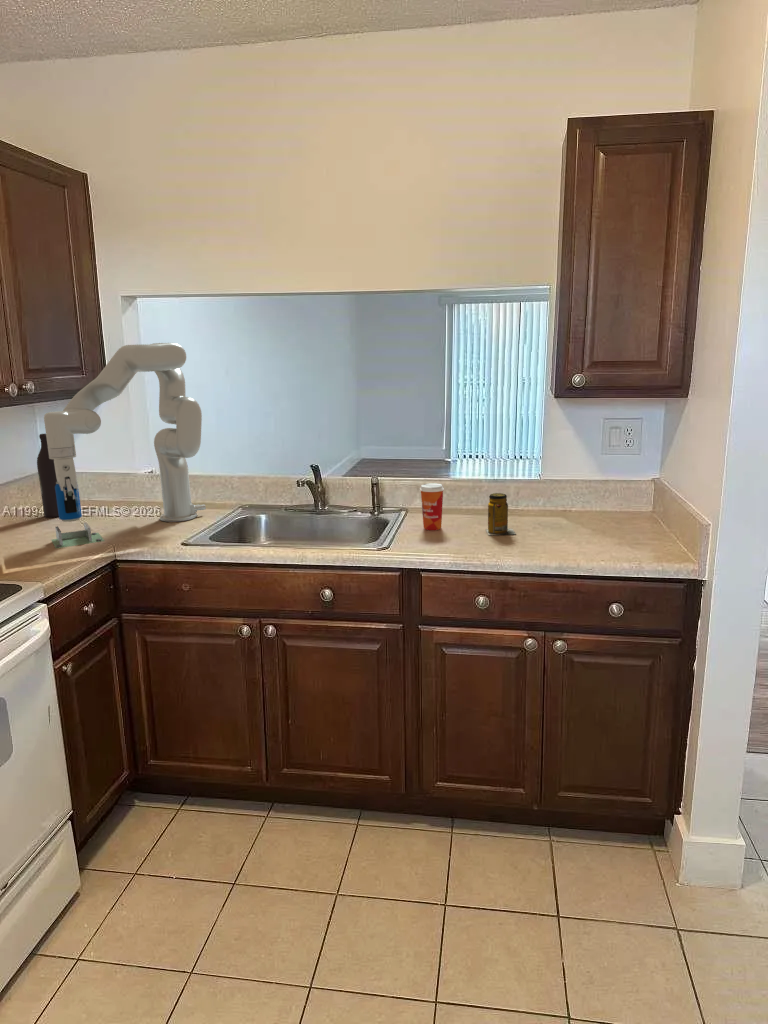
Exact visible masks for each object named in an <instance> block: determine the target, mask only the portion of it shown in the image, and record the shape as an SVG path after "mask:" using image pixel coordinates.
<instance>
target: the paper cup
mask: <svg viewBox="0 0 768 1024" xmlns="http://www.w3.org/2000/svg"><path fill="white" fill-rule="evenodd" d="M419 490H420V498H421V511H422V513H421V514H422V524H423V529H424V530H426V531H439V530H441V529H442V523H443V522H442V521H443V499H444V490H445V488H444V486H443V484H442V483H437V482H435V483H434V482H433V483H430V482H429V483H424V484H421V485H420V488H419Z"/></svg>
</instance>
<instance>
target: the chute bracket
mask: <svg viewBox="0 0 768 1024" xmlns="http://www.w3.org/2000/svg"><path fill="white" fill-rule="evenodd" d="M83 527H84V528H83V529H81V530H74V531H67V532H62V531H61V529H60V527H59V526H58V525H57V526H55V536H56V539H57V541H58V543H59V545H61V546H63V541H62V540H65V539H71V538H78V537H85V536H86V538H87V539H88V541H89V542H92V537H91V534H92V532H91V531H92V530H91V527H90V525H89V524H88V523H87V522H86V521H85V522H83Z"/></svg>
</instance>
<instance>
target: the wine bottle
mask: <svg viewBox="0 0 768 1024" xmlns="http://www.w3.org/2000/svg"><path fill="white" fill-rule="evenodd" d="M38 437H39V440H40V450H39V452H38V455H37V457H36V468H37V474H38V480H39V481H38V483H39V487H40V494H41V502H42V509H43V515H44V517H45V518H48V519H53V518H59V514H58V506H57V499H56V491H55V485H56V482H57V478H56V472H55V465H54V459H49V452H48V445H47V437H46V433H40V434H39V435H38Z"/></svg>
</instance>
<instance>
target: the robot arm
mask: <svg viewBox="0 0 768 1024" xmlns="http://www.w3.org/2000/svg"><path fill="white" fill-rule="evenodd" d="M186 361H187V352H186V350H185V348H184V347H183V346H182V345H181V344H178V343H176V342H155V343H150V344H126V345H123V346H120V348H118V349H117V350H116V352H115V353H114V354H113V356H111V358H110V359H109V361H108V362H107V363H106V365H105V366H104V368H102V370H101V371H100V373H99V374H98V375H97V377H95V378H94V379H93V380H92V381H90V382H89V383H88V384H87V385H85V386H84V387H83V388H81V389H80V390H79V391H78V392H77V393H75V395H74V396H73V397H72V398H71V399H70V401H69V402H68V403H67V404H66V406H65V407H64V408H63V410H62V411H61V410H59V411H49V412H46V413H45V414H44V415H43V420H44V421H43V423H44V429H45V434H46V437H47V445H48V452H49V459H54V465H55V472H56V478H57V482H58V483H59V486H60V489H61V491H63V492H64V498H65V500H64V505H65V512H66V513H74V512H77V507H76V499H75V496H74V490H73V488H74V489H76V490H77V489H79V484H78V478H77V472H76V466H75V459H74V458H76V457H77V453H76V452H77V451H76V444H75V442H76V441H75V434H76V435H80V434H81V435H84V434H85V435H88V434H89V435H90V434H93V433H95V432H97V431H98V430H99V429H100V428H101V425H102V420H101V415H99V414H98V412H96V411H94V410H95V409H96V408H97V407H99V406H101V405H103V404H105V403H106V402H108V401H111V400H113V399H115V398H118V397H119V396H120V395H122V393H123V391H124V390H125V389H126V388H127V386H128V385H129V383H130V382H131V381H132V380H133V378H134V377H135V376H136V374H137V373H138V372H139V373H141V372H142V373H143V372H144V373H145V372H154V373H155V375H156V377H157V379H158V384H159V385H158V386H159V393H158V394H159V397H158V414H159V418H160V420H161V421H162V422H164V423H166V424H169V425H176V428H175V427H174V428H173V427H166V428H162V429H160V430H159V431H158V432H157V433H156V434H155V436H154V438H153V446H154V450H155V453H156V457H157V461H158V467H159V477H160V484H161V485H160V486H161V488H160V489H161V495H162V505H163V514H161V515H160V516H159V521H162V522H167V523H168V522H169V523H171V522H172V523H173V522H174V523H176V522H178V523H179V522H185V521H189V520H193V519H195V518H198V511H204V510H206V507H207V506H206V504H205V503H204V504H194V503H193V502H192V496H191V485H190V477H189V476H190V474H189V467H188V462H187V459H189V458H193V457H194V456H196V455H197V454H198V453H199V451H200V447H201V443H202V421H203V417H202V416H203V415H202V409H201V406H200V404H199V403H198V401H197V400H195V398H193V397H188V396H187V395H186V379H185V376H184V373H183V371H182V369H181V368H182V367H183V366H184V365H185V363H186ZM65 482H66V483H65ZM64 487H65V488H66V487H67V490H65V488H64ZM66 492H67V493H66Z"/></svg>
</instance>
